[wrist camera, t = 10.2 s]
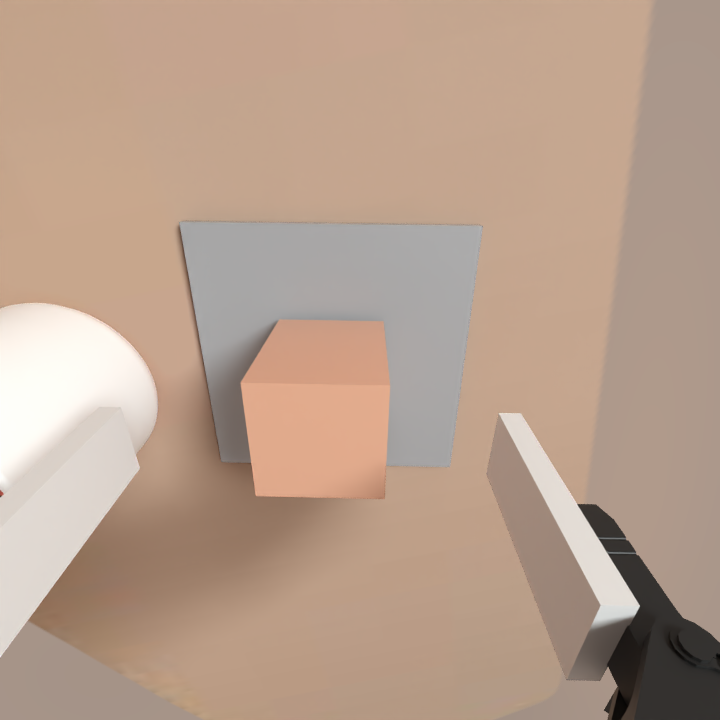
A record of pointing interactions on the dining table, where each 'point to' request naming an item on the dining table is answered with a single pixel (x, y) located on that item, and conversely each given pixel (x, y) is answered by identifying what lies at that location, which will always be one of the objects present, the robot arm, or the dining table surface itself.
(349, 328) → the peach toy cube
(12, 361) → the cup
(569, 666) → the robot arm
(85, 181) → the dining table surface
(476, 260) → the grey square plate
